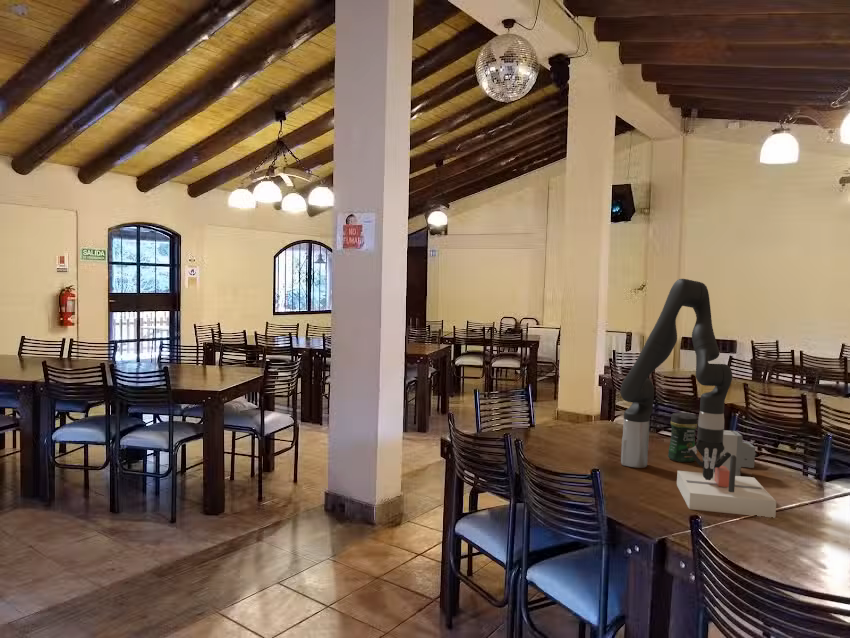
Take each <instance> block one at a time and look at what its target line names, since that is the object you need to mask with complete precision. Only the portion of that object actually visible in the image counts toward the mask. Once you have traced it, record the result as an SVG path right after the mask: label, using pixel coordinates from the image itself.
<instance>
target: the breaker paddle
mask: <svg viewBox="0 0 850 638" xmlns="http://www.w3.org/2000/svg"><path fill="white" fill-rule="evenodd" d="M729 473H730V471H729V470H728V469H727V467H726V466H720V467H719V468H715V473H714V474H715V482H716V483H717V485H718V486H722V487H729Z"/></svg>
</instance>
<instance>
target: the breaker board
mask: <svg viewBox="0 0 850 638" xmlns="http://www.w3.org/2000/svg"><path fill="white" fill-rule="evenodd" d="M676 471H677V476H676V487H677V488H678V491H679V492H680V494H681V496H682V498H683V500H684V501H685V504H686V506H687V508H688V509H689V510H697V511H703V512H715V513H724V514H732V515H733V514H734V515H743V516H744V515H745V516H752V515H757V516H756V517H761V516H765V517H764V518H771V517H773V519H775V518H776V515H777V514H776V513H777V500H776V499H775V498H774V497H773V496H772V494H770V493H769V492H768V491H767V490H766V489H765V487H764V486H763V485H761V483H760V482H759V481H758V480H757V479H756V478H755V476H753V477H751V476H741V475H740V476H735V487H734V492H729V491H728V489H729V487H722V486H718V485H717V483H716V482H715V473H713V478H711V480H705V478H704V477H703V472H698V471H687V470H676Z"/></svg>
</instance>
